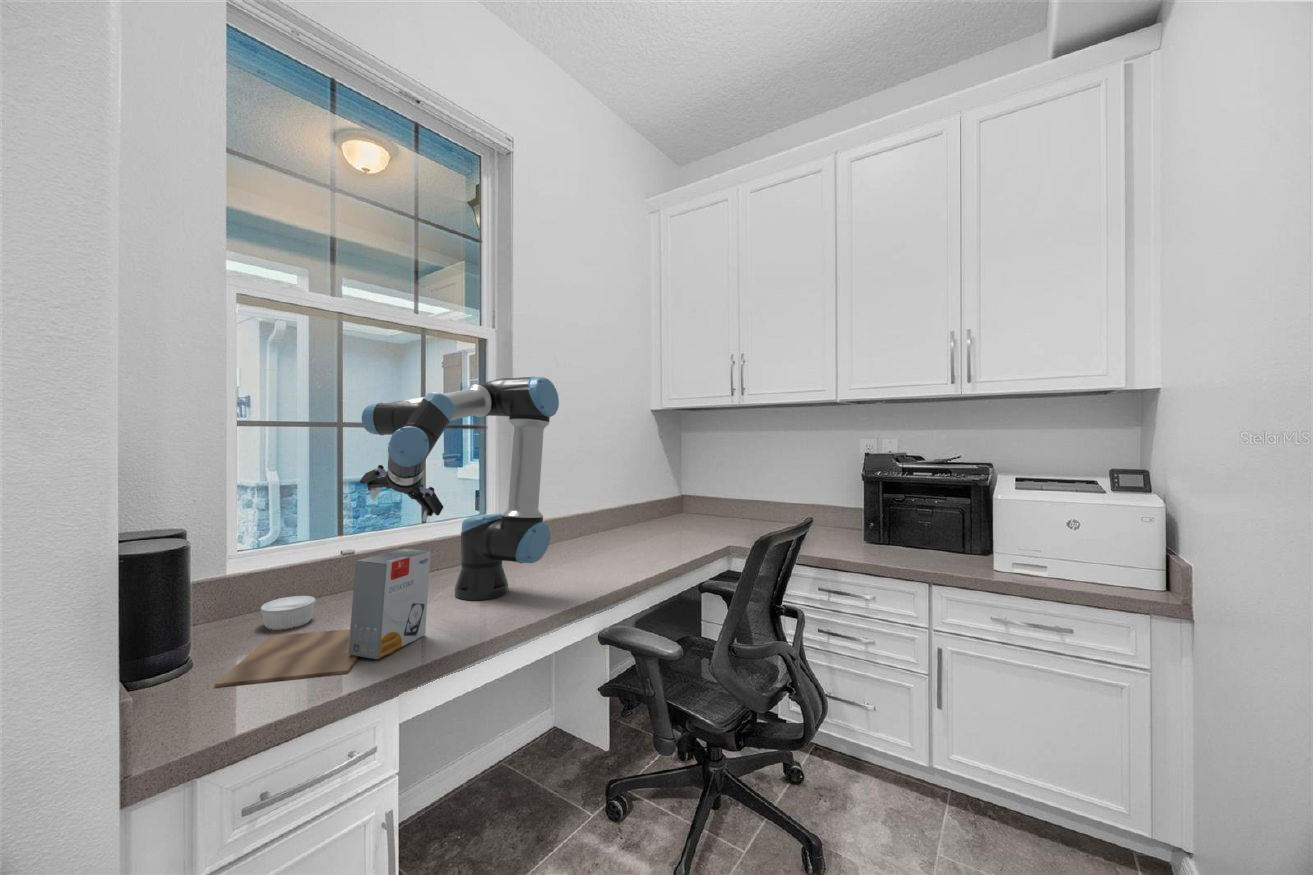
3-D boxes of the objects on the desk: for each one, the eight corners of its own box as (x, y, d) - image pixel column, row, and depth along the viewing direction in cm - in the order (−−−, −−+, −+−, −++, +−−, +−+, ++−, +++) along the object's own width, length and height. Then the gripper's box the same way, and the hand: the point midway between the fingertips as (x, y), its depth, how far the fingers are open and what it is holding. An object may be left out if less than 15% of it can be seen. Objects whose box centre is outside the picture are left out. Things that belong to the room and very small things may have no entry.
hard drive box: (378, 661, 107) (384, 564, 107) (346, 656, 108) (352, 560, 109) (426, 635, 122) (431, 550, 122) (398, 631, 123) (403, 547, 124)
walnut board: (377, 629, 125) (377, 626, 125) (348, 673, 102) (348, 670, 102) (271, 638, 119) (271, 635, 119) (214, 687, 96) (214, 684, 96)
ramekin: (270, 635, 121) (270, 613, 121) (252, 625, 127) (253, 604, 127) (323, 622, 130) (323, 601, 130) (304, 612, 136) (304, 593, 136)
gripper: (341, 461, 114) (344, 498, 131) (449, 507, 120) (439, 537, 136) (361, 435, 119) (362, 474, 135) (464, 481, 124) (453, 513, 141)
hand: (400, 506), depth 136 cm, fingers open, 13 cm apart
